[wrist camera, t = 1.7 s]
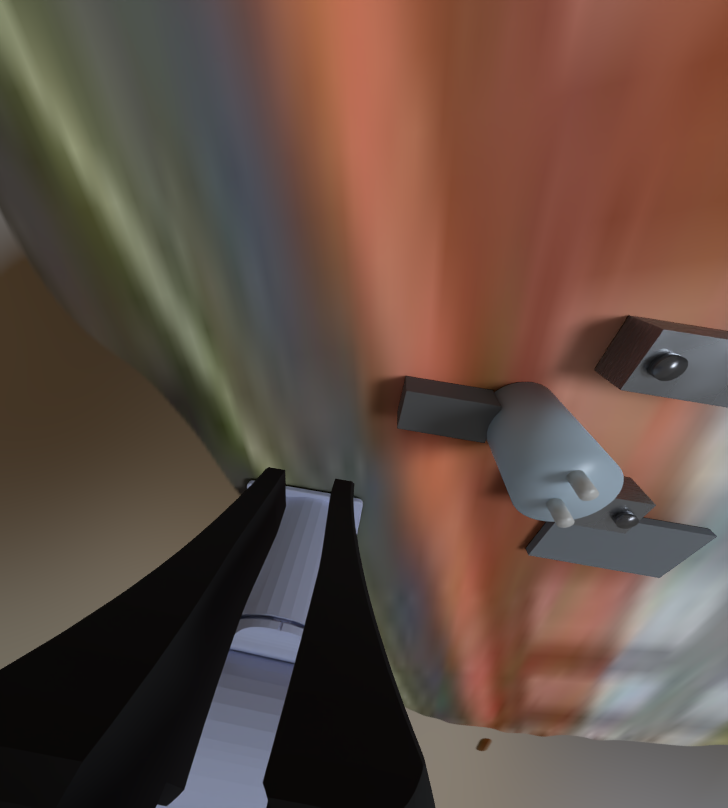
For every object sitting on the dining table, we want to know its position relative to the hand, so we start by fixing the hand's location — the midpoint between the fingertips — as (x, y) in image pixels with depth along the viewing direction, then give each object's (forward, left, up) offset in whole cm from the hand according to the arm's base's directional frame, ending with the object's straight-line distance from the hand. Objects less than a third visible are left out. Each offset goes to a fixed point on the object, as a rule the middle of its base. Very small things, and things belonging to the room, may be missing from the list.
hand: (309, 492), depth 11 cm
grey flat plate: (+23, -10, -8) cm, 26 cm away
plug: (+8, 0, -8) cm, 12 cm away
